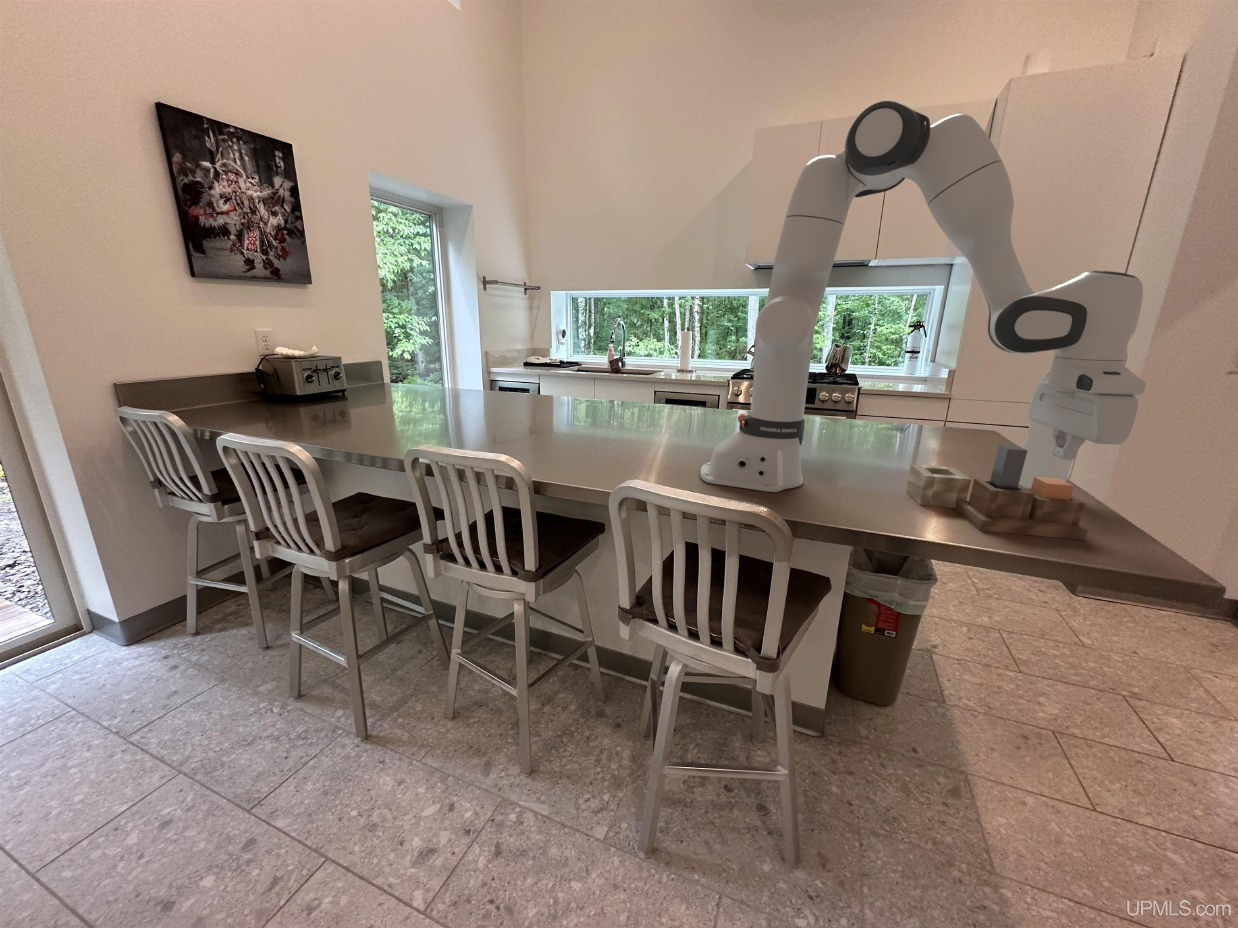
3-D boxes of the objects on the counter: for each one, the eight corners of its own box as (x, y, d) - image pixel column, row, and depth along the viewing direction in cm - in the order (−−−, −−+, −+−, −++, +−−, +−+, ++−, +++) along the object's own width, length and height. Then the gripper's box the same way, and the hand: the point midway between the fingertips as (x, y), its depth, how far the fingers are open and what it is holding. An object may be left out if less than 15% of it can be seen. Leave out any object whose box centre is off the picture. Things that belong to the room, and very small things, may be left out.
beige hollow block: (919, 504, 99) (925, 475, 97) (906, 491, 107) (911, 464, 105) (964, 508, 98) (971, 479, 96) (947, 494, 105) (953, 467, 103)
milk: (1012, 488, 110) (1037, 387, 104) (1033, 486, 111) (1059, 387, 105) (1041, 498, 104) (1069, 392, 98) (1063, 496, 106) (1092, 391, 99)
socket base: (979, 530, 88) (988, 492, 86) (955, 509, 97) (963, 475, 95) (1085, 540, 85) (1097, 501, 83) (1049, 517, 94) (1059, 482, 92)
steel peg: (991, 513, 90) (1007, 449, 86) (983, 507, 93) (999, 444, 89) (1010, 515, 89) (1027, 450, 86) (1001, 509, 92) (1018, 446, 89)
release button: (1041, 505, 87) (1047, 483, 86) (1028, 497, 91) (1034, 476, 90) (1067, 507, 86) (1074, 485, 85) (1053, 499, 90) (1059, 478, 89)
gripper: (1027, 369, 93) (1010, 442, 97) (1105, 383, 73) (1080, 473, 77) (1066, 370, 91) (1047, 444, 95) (1156, 385, 72) (1128, 476, 76)
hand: (1062, 457), depth 86 cm, fingers closed
